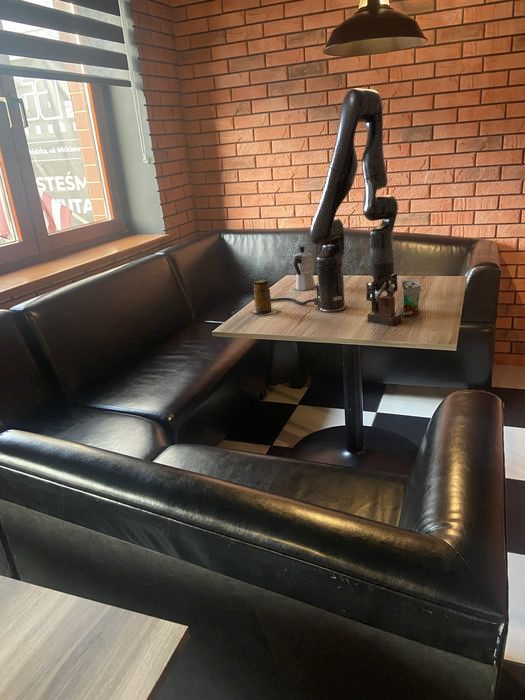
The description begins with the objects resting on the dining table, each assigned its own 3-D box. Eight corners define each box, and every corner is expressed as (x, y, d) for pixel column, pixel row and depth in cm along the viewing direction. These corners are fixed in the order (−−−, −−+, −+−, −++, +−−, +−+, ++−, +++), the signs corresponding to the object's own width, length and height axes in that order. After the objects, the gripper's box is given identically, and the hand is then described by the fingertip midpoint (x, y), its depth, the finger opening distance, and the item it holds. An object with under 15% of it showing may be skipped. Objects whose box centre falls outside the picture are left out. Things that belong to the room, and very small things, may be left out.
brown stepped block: (367, 321, 181) (366, 296, 178) (376, 317, 184) (375, 292, 181) (393, 325, 174) (392, 300, 171) (401, 321, 177) (401, 296, 174)
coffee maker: (301, 284, 239) (298, 243, 233) (319, 284, 235) (317, 243, 229) (288, 293, 227) (284, 250, 221) (307, 293, 223) (304, 250, 217)
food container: (422, 317, 179) (422, 288, 175) (403, 318, 180) (403, 289, 177) (420, 306, 190) (420, 279, 187) (402, 307, 191) (401, 280, 188)
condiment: (267, 307, 209) (264, 277, 205) (278, 312, 202) (275, 281, 198) (251, 312, 206) (247, 281, 202) (261, 316, 199) (258, 285, 195)
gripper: (384, 255, 179) (385, 301, 185) (358, 264, 170) (360, 312, 176) (404, 256, 174) (404, 304, 179) (378, 266, 165) (379, 316, 170)
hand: (382, 308), depth 178 cm, fingers open, 8 cm apart
